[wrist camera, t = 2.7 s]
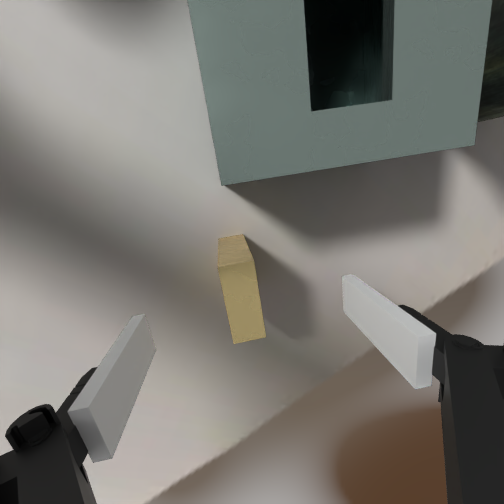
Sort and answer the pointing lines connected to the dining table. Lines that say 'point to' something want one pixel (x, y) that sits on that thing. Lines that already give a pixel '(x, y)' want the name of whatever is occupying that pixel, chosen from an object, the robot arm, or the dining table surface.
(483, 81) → the mug
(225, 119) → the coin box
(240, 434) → the dining table surface
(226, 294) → the tan rectangular block
